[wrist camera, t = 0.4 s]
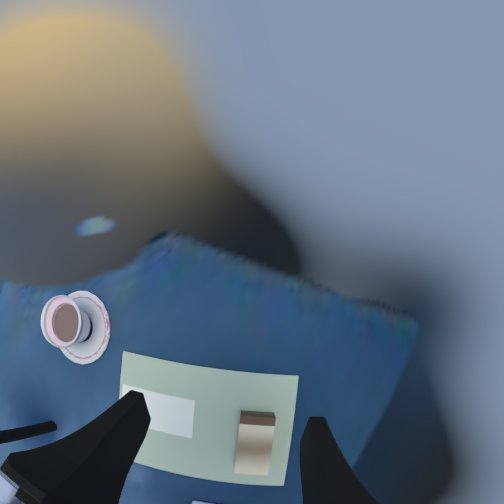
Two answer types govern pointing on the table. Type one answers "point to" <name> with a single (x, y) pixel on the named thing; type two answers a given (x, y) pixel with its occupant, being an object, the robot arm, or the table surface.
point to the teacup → (77, 325)
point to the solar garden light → (26, 432)
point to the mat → (207, 416)
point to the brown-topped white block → (254, 442)
